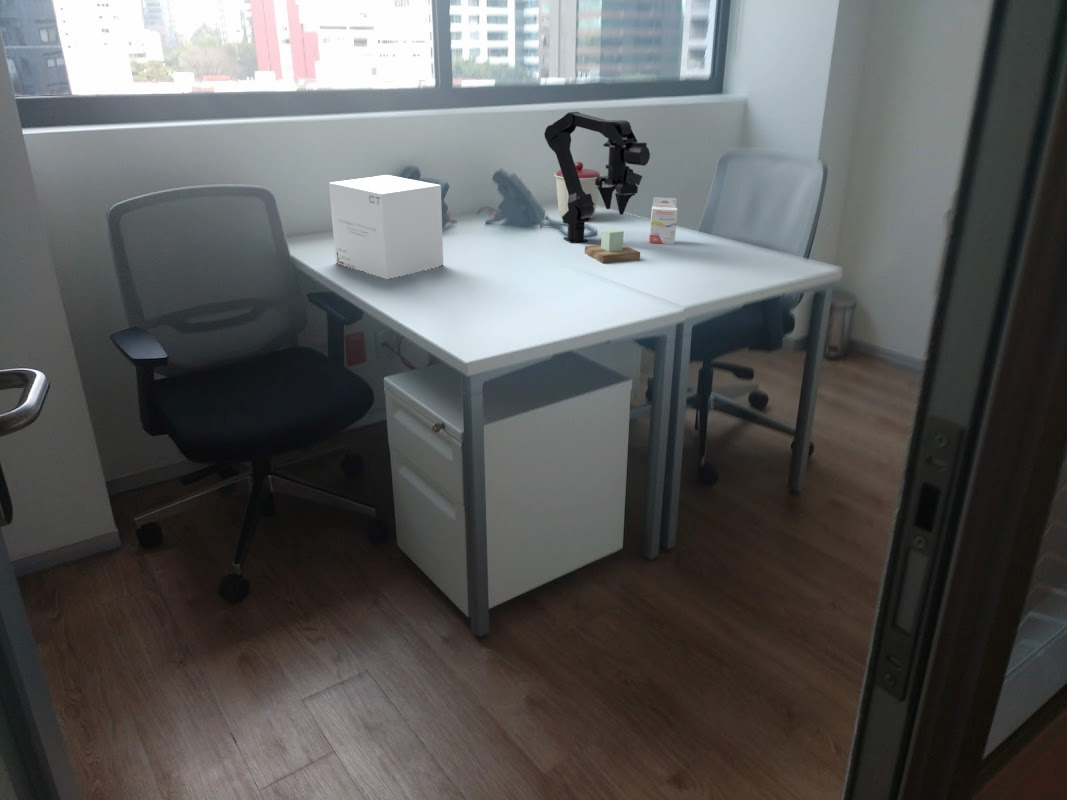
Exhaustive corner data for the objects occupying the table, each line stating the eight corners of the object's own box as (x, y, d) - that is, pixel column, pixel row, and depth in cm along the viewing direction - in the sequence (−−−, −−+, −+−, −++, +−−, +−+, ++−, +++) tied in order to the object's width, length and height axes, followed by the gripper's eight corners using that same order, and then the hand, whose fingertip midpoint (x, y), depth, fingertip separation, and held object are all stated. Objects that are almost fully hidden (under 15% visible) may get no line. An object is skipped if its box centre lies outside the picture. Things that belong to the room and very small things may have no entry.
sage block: (601, 248, 258) (601, 229, 256) (614, 246, 260) (615, 228, 258) (608, 251, 254) (609, 232, 251) (622, 250, 256) (623, 231, 253)
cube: (336, 264, 246) (328, 182, 236) (392, 252, 260) (387, 174, 250) (386, 281, 231) (381, 194, 221) (443, 267, 245) (440, 185, 235)
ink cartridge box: (649, 243, 275) (652, 199, 269) (648, 240, 280) (652, 197, 274) (674, 244, 274) (678, 200, 268) (673, 241, 279) (677, 197, 273)
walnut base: (584, 255, 261) (585, 246, 260) (620, 252, 266) (620, 243, 265) (602, 265, 250) (603, 255, 249) (639, 261, 255) (640, 252, 254)
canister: (586, 225, 300) (589, 166, 291) (544, 219, 308) (545, 162, 299) (608, 217, 314) (610, 161, 305) (567, 211, 322) (568, 157, 314)
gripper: (654, 165, 252) (650, 215, 258) (625, 157, 268) (622, 205, 274) (622, 166, 248) (619, 218, 254) (595, 158, 264) (593, 207, 270)
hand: (614, 211), depth 263 cm, fingers open, 9 cm apart
